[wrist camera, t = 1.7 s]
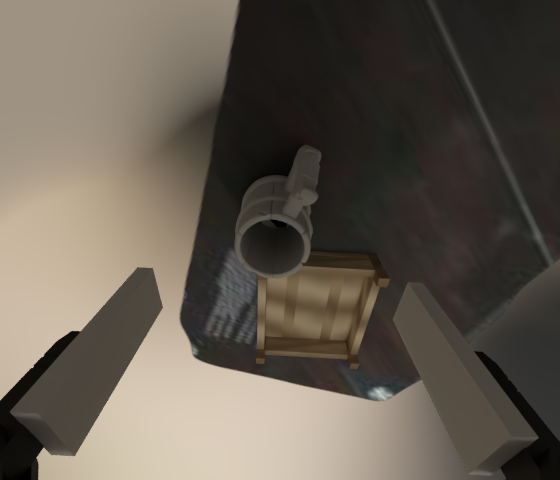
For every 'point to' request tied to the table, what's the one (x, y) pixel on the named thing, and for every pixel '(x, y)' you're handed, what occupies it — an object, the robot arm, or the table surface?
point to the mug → (279, 206)
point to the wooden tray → (319, 307)
